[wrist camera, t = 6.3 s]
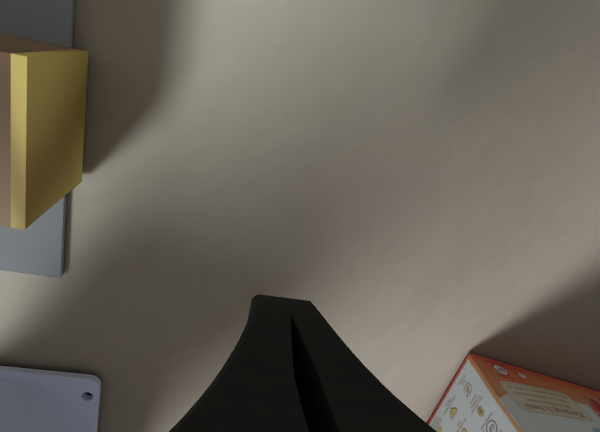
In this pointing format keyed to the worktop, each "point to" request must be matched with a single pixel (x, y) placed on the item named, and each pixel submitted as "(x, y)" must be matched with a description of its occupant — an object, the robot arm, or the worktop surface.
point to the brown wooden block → (39, 126)
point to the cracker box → (513, 401)
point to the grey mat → (51, 225)
